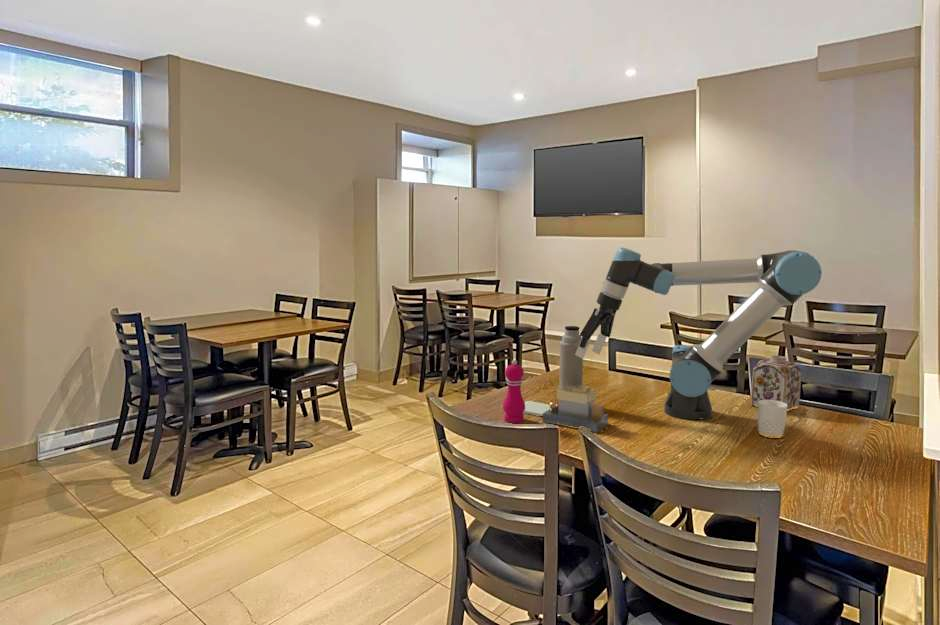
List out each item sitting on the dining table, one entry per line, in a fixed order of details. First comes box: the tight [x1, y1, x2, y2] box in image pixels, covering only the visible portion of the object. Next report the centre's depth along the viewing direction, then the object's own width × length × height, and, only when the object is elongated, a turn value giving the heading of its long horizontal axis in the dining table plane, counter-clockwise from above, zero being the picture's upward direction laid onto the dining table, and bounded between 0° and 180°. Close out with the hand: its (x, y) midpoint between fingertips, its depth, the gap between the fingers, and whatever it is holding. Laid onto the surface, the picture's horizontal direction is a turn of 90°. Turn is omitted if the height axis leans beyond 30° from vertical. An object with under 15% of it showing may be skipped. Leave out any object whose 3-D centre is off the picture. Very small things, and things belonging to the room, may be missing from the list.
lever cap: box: [556, 384, 596, 404], centre depth 188 cm, size 10×7×4 cm
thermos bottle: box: [558, 325, 584, 389], centre depth 206 cm, size 8×8×28 cm
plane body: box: [542, 399, 609, 434], centre depth 189 cm, size 18×10×8 cm, turn 58°
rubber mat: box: [522, 400, 550, 417], centre depth 202 cm, size 11×11×1 cm
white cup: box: [757, 400, 788, 436], centre depth 177 cm, size 8×8×10 cm
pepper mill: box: [502, 359, 525, 424], centre depth 191 cm, size 7×7×20 cm
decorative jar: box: [750, 355, 802, 409], centre depth 205 cm, size 12×12×18 cm
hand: (587, 354), depth 195 cm, fingers open, 13 cm apart
